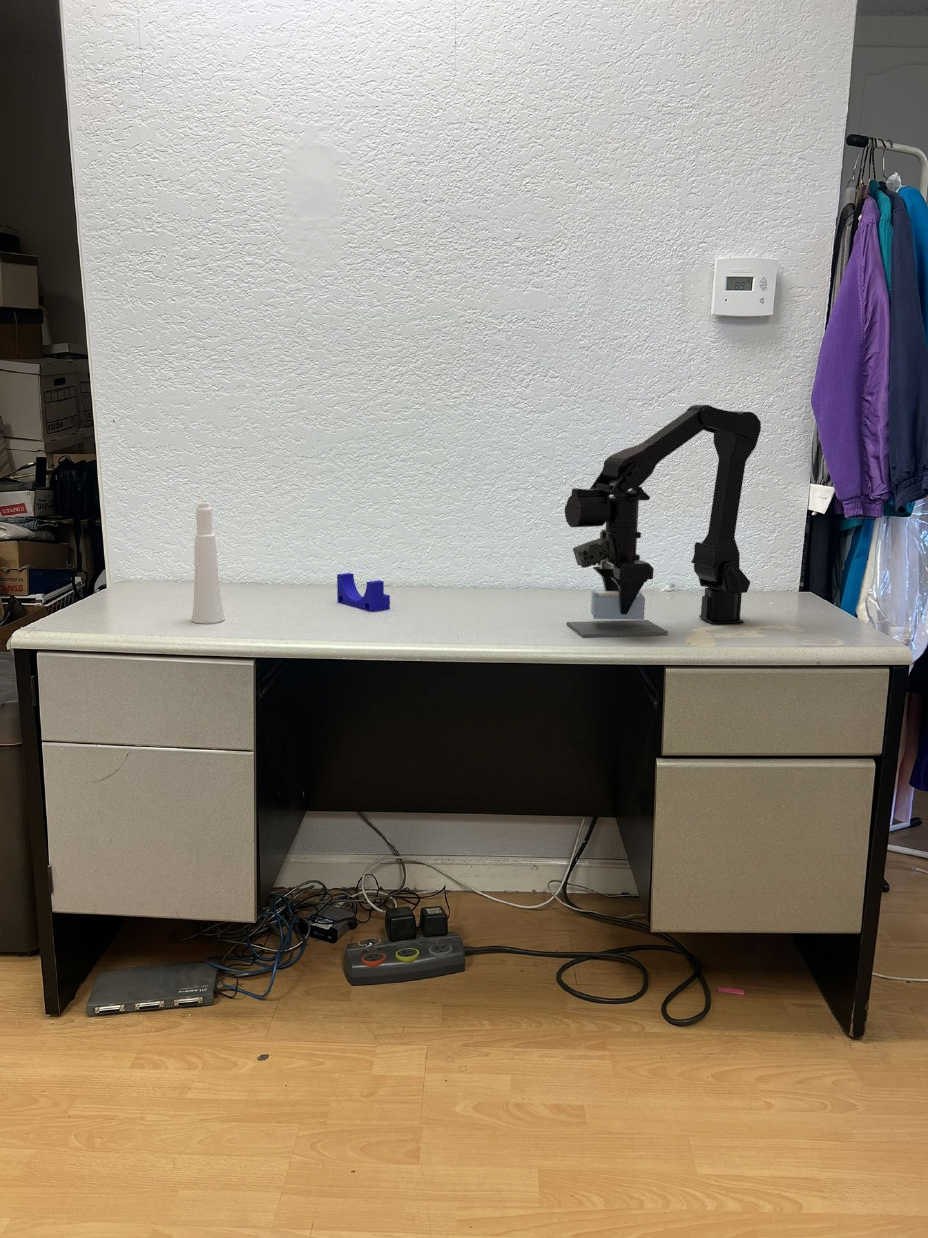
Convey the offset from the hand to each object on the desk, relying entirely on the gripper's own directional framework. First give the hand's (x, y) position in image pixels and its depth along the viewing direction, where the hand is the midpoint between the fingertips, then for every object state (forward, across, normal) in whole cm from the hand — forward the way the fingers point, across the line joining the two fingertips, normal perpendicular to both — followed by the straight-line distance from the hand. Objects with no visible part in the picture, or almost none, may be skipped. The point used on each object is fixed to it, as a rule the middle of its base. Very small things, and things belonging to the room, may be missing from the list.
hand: (617, 610), depth 183 cm
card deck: (+1, 0, 0) cm, 1 cm away
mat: (+4, 0, 0) cm, 4 cm away
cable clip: (+4, -27, -44) cm, 52 cm away
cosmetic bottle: (+4, -17, -74) cm, 76 cm away
